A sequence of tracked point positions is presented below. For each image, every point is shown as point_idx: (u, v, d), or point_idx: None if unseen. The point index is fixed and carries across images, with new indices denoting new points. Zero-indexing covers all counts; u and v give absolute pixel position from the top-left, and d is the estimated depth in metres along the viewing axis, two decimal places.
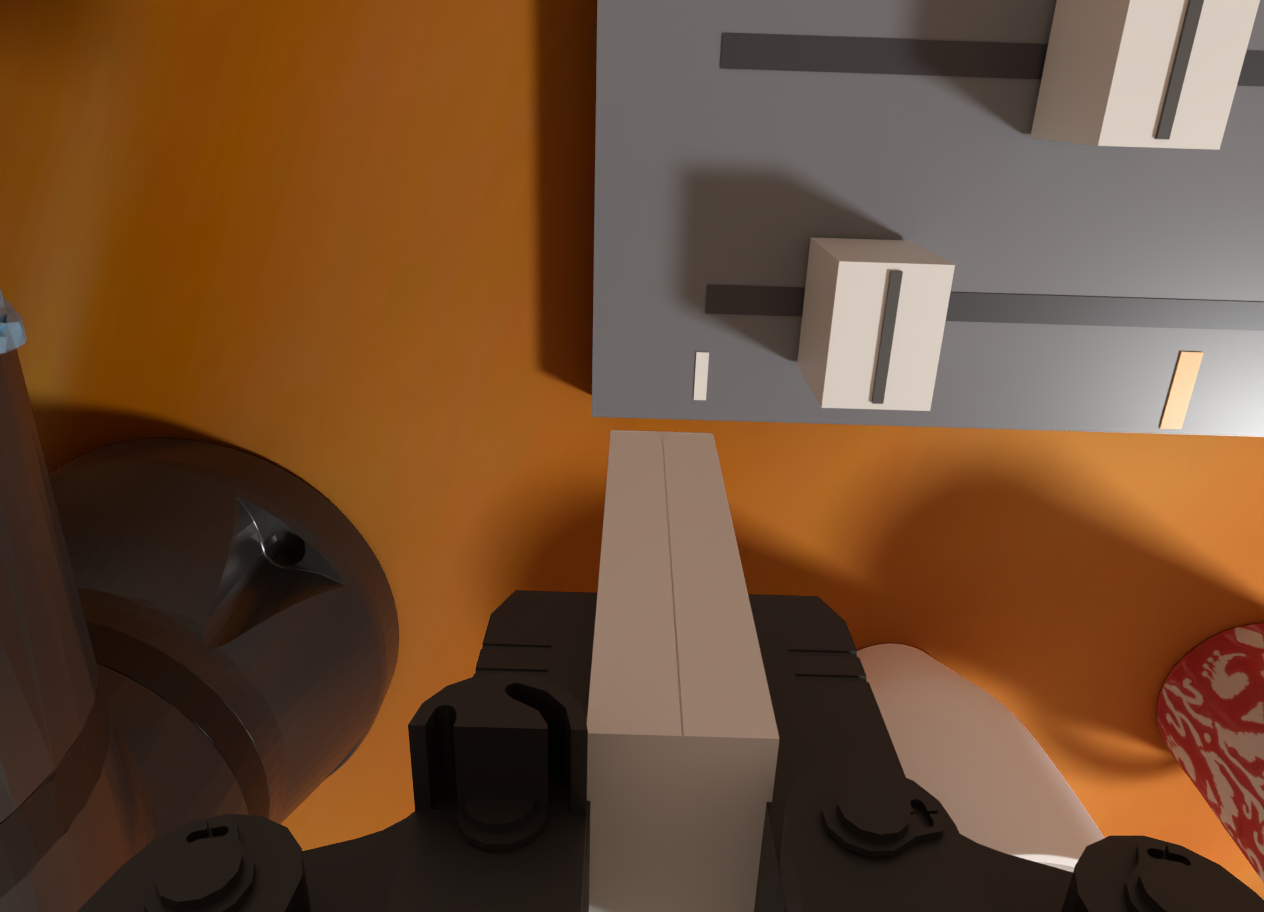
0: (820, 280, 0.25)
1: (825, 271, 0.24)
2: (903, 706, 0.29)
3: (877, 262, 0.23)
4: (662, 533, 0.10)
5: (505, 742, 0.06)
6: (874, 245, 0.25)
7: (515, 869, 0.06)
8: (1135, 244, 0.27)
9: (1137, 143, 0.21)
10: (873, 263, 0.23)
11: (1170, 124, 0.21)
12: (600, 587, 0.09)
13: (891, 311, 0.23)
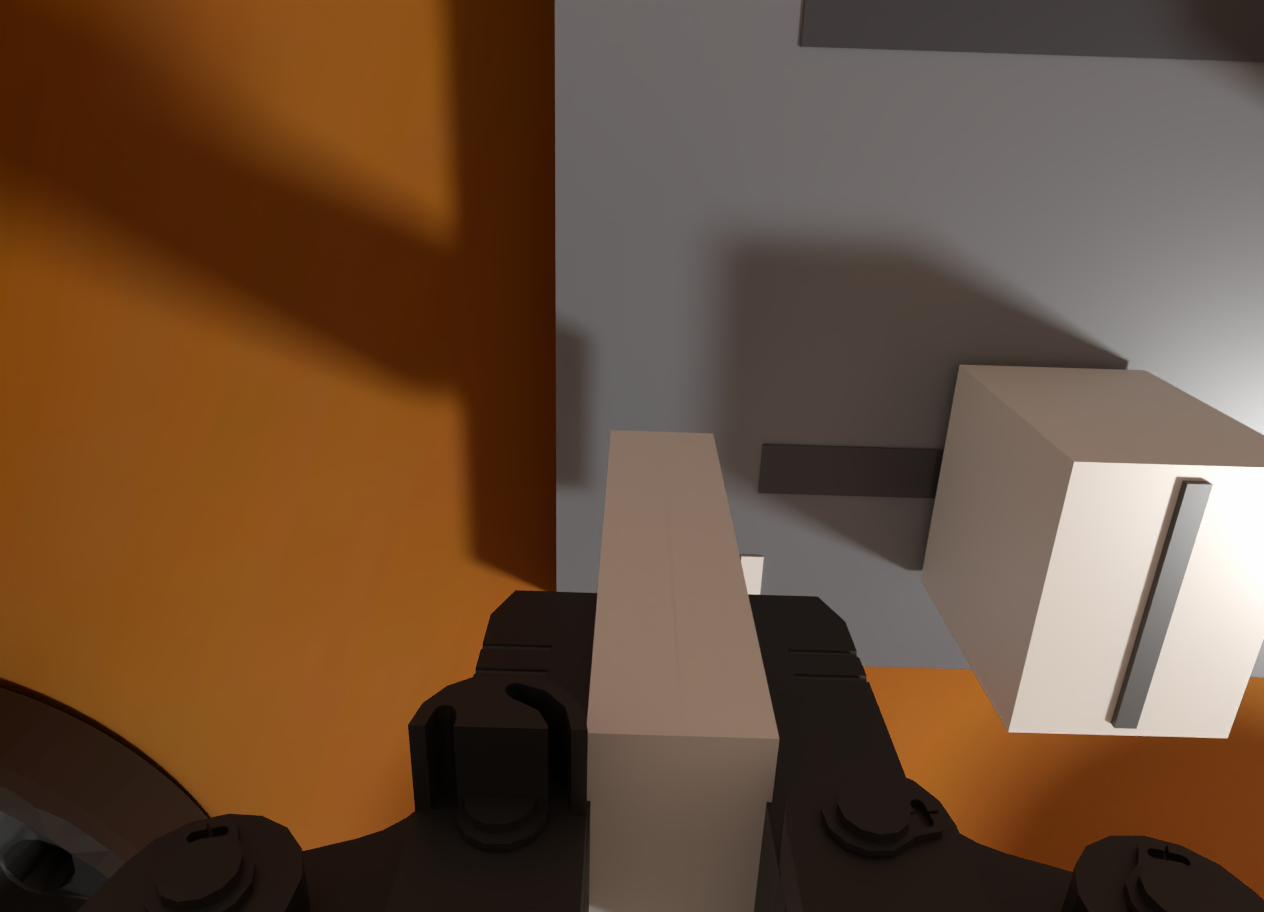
0: (997, 465, 0.13)
1: (1016, 456, 0.12)
2: None
3: (1155, 462, 0.10)
4: (662, 533, 0.10)
5: (506, 743, 0.06)
6: (1095, 390, 0.13)
7: (516, 870, 0.06)
8: None
9: None
10: (1148, 465, 0.10)
11: None
12: (600, 587, 0.09)
13: (1178, 562, 0.11)
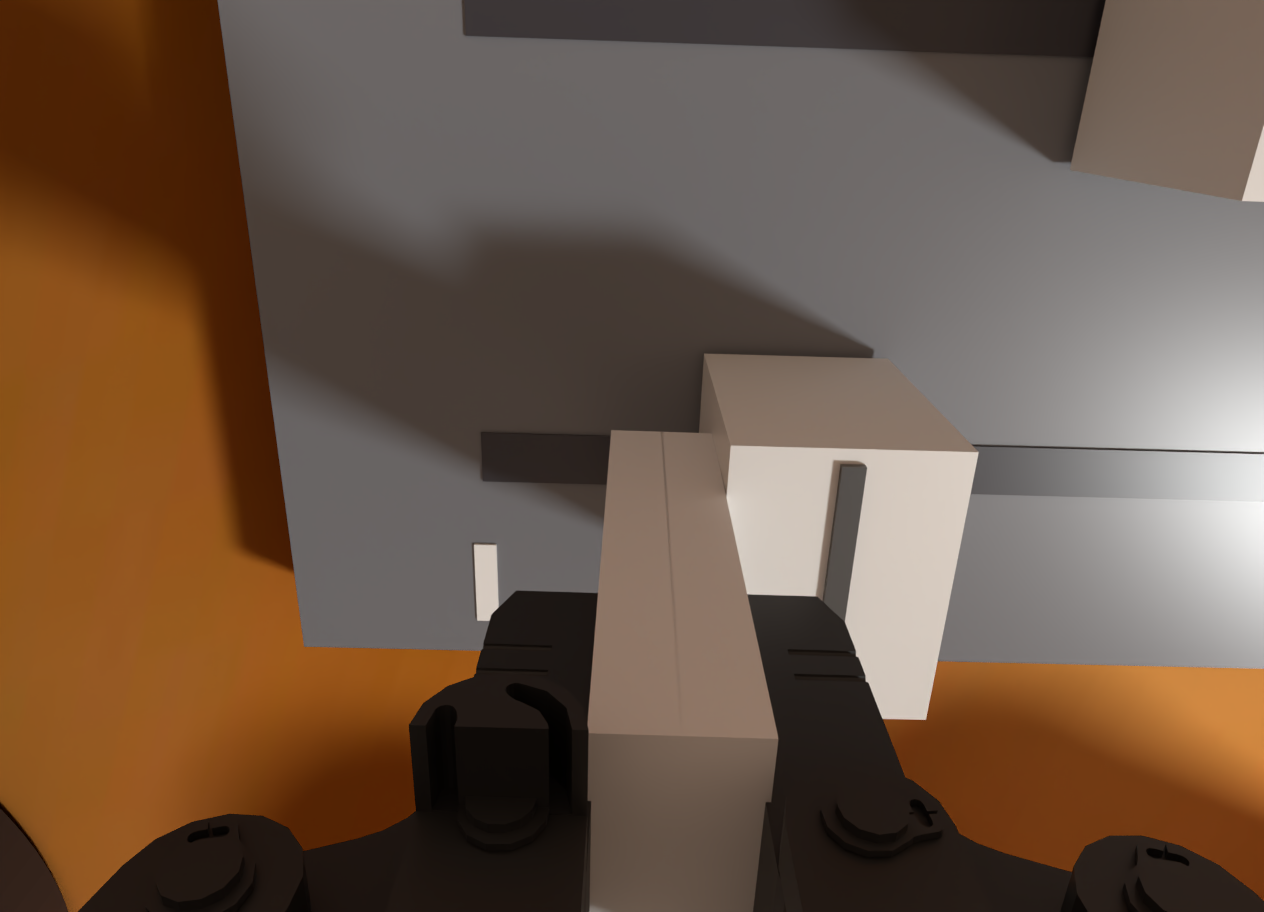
0: None
1: (716, 442, 0.12)
2: None
3: (813, 446, 0.11)
4: (661, 533, 0.10)
5: (506, 742, 0.06)
6: (818, 377, 0.13)
7: (516, 869, 0.06)
8: (1257, 362, 0.15)
9: None
10: (804, 449, 0.11)
11: None
12: (601, 587, 0.09)
13: (845, 544, 0.11)
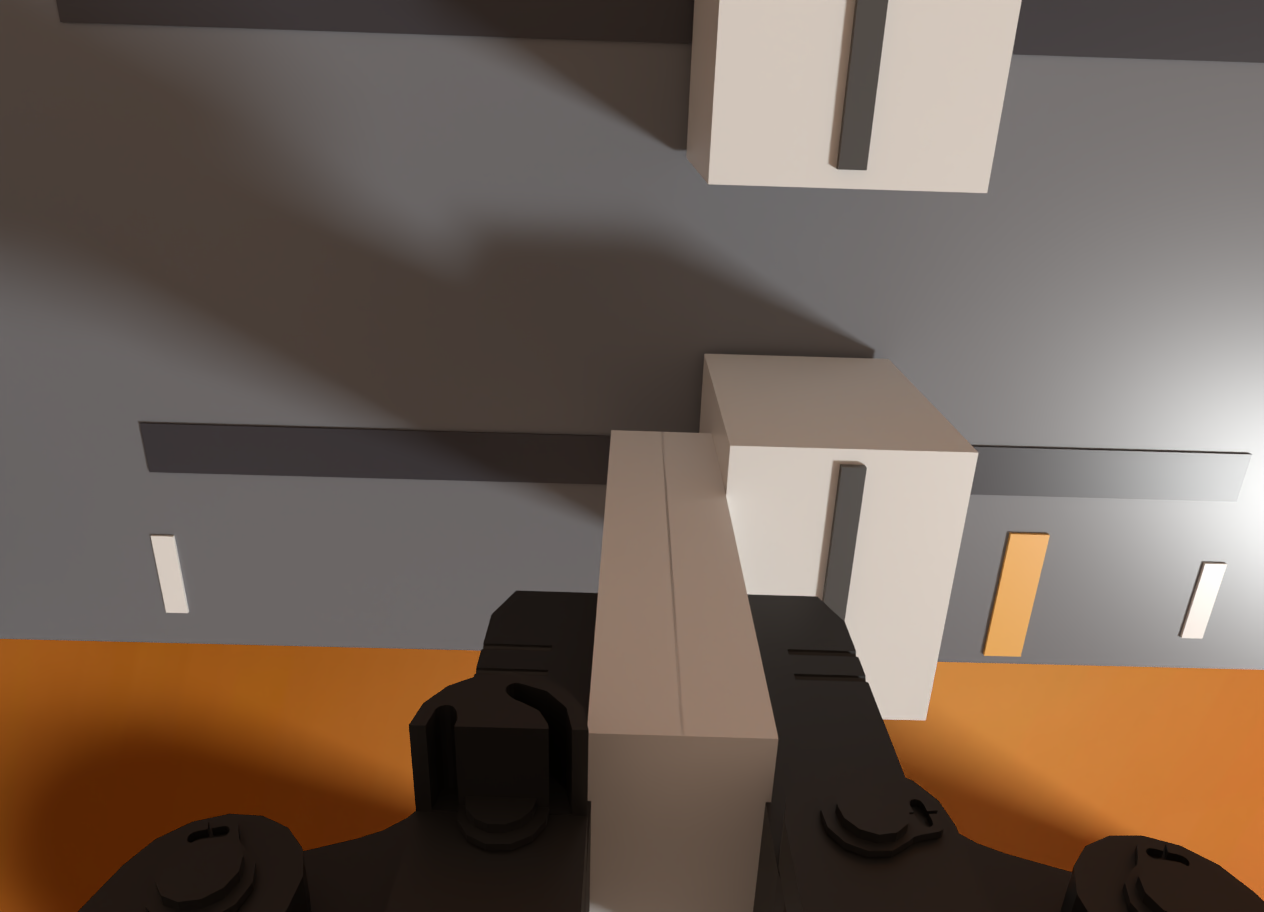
0: None
1: (716, 442, 0.12)
2: None
3: (812, 446, 0.11)
4: (661, 533, 0.10)
5: (506, 742, 0.06)
6: (818, 378, 0.13)
7: (516, 869, 0.06)
8: (911, 352, 0.14)
9: (797, 179, 0.09)
10: (804, 449, 0.11)
11: (864, 136, 0.09)
12: (601, 587, 0.09)
13: (844, 544, 0.11)
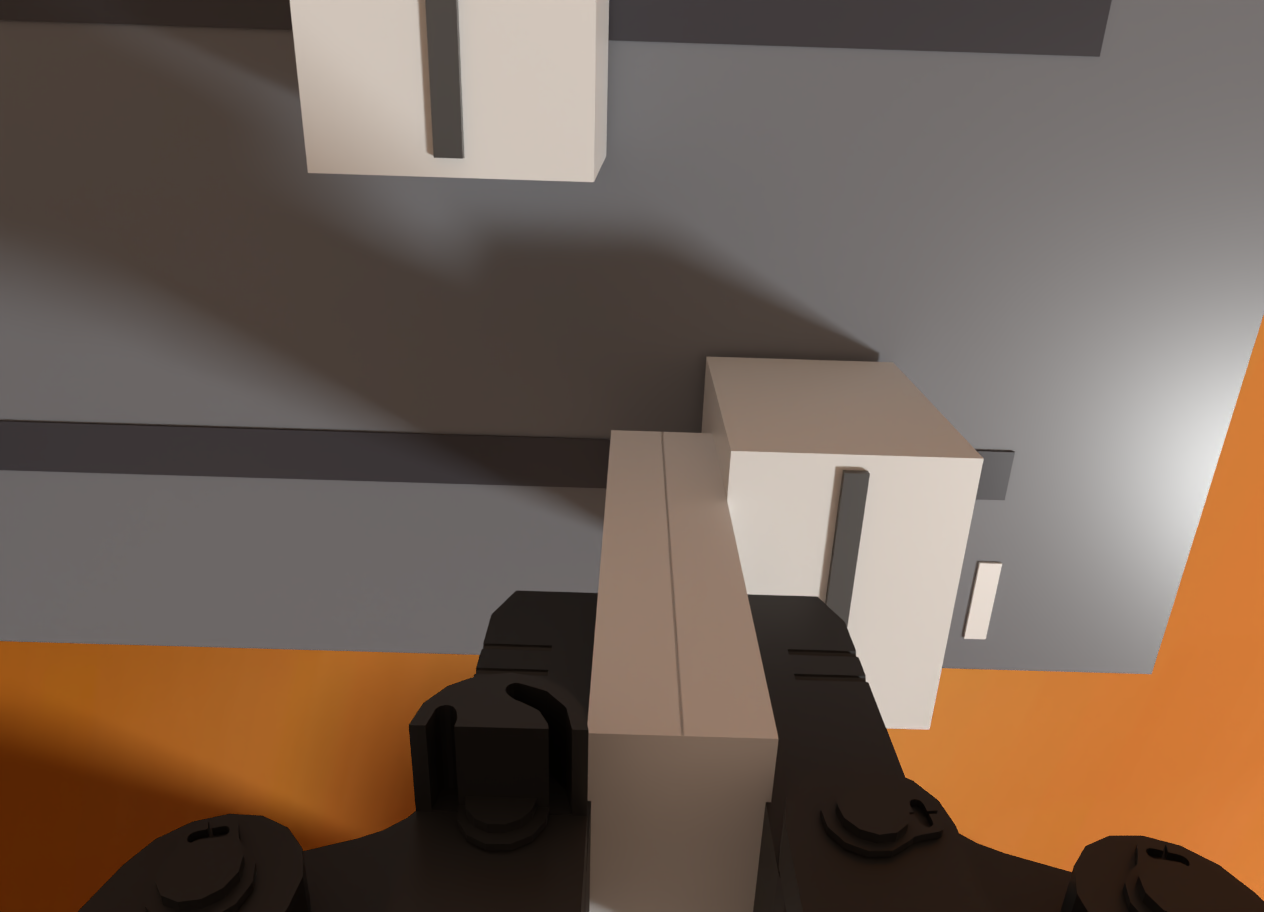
0: None
1: (717, 446, 0.12)
2: None
3: (815, 452, 0.10)
4: (661, 533, 0.10)
5: (506, 742, 0.06)
6: (822, 381, 0.13)
7: (516, 869, 0.06)
8: (658, 347, 0.14)
9: (397, 167, 0.09)
10: (806, 455, 0.10)
11: (454, 123, 0.09)
12: (601, 587, 0.09)
13: (847, 551, 0.11)
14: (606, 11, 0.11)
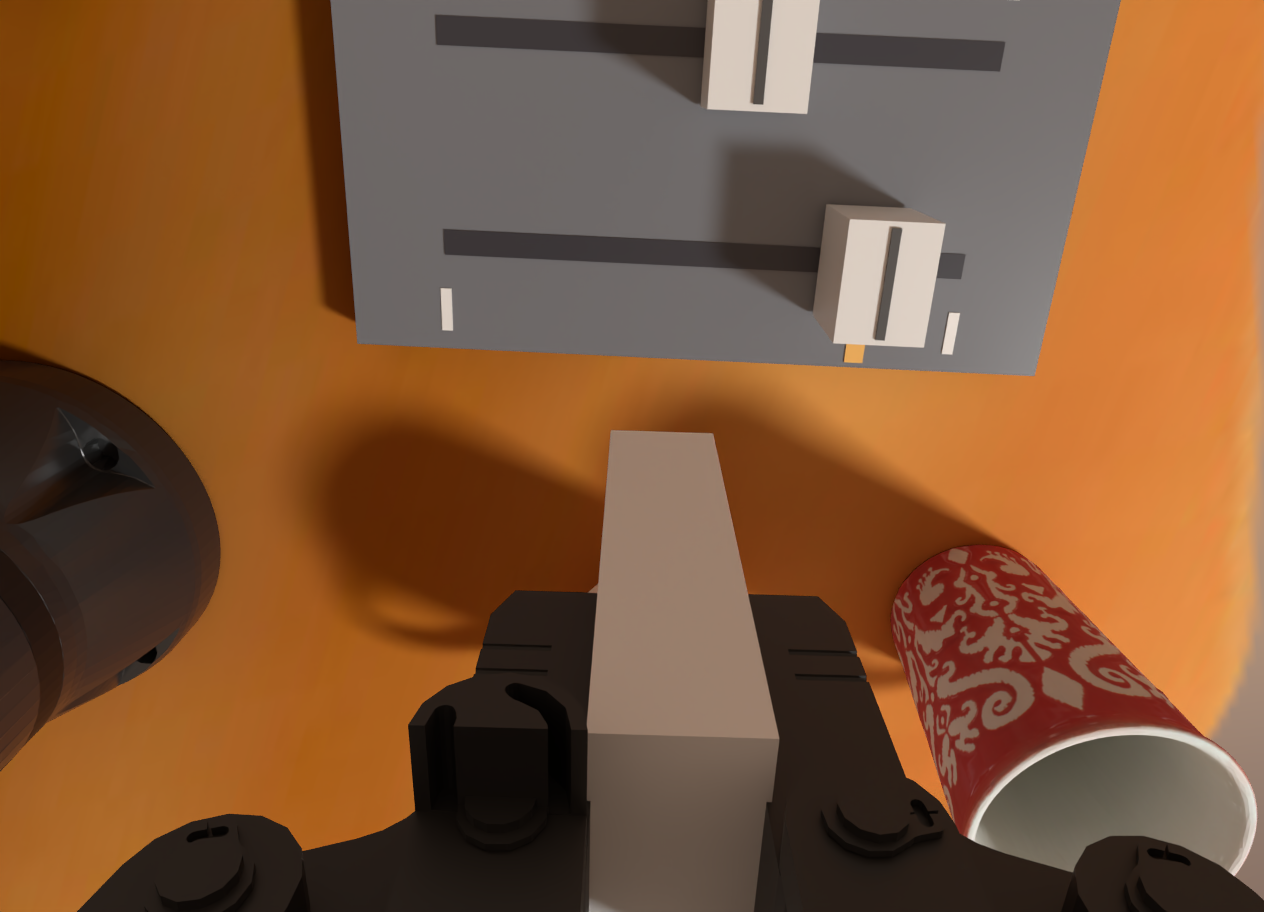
0: (834, 238, 0.30)
1: (838, 230, 0.29)
2: None
3: (881, 220, 0.28)
4: (662, 533, 0.10)
5: (506, 743, 0.06)
6: (880, 210, 0.30)
7: (516, 870, 0.06)
8: (802, 200, 0.31)
9: (739, 107, 0.26)
10: (878, 221, 0.28)
11: (762, 92, 0.26)
12: (600, 587, 0.09)
13: (893, 262, 0.28)
14: None
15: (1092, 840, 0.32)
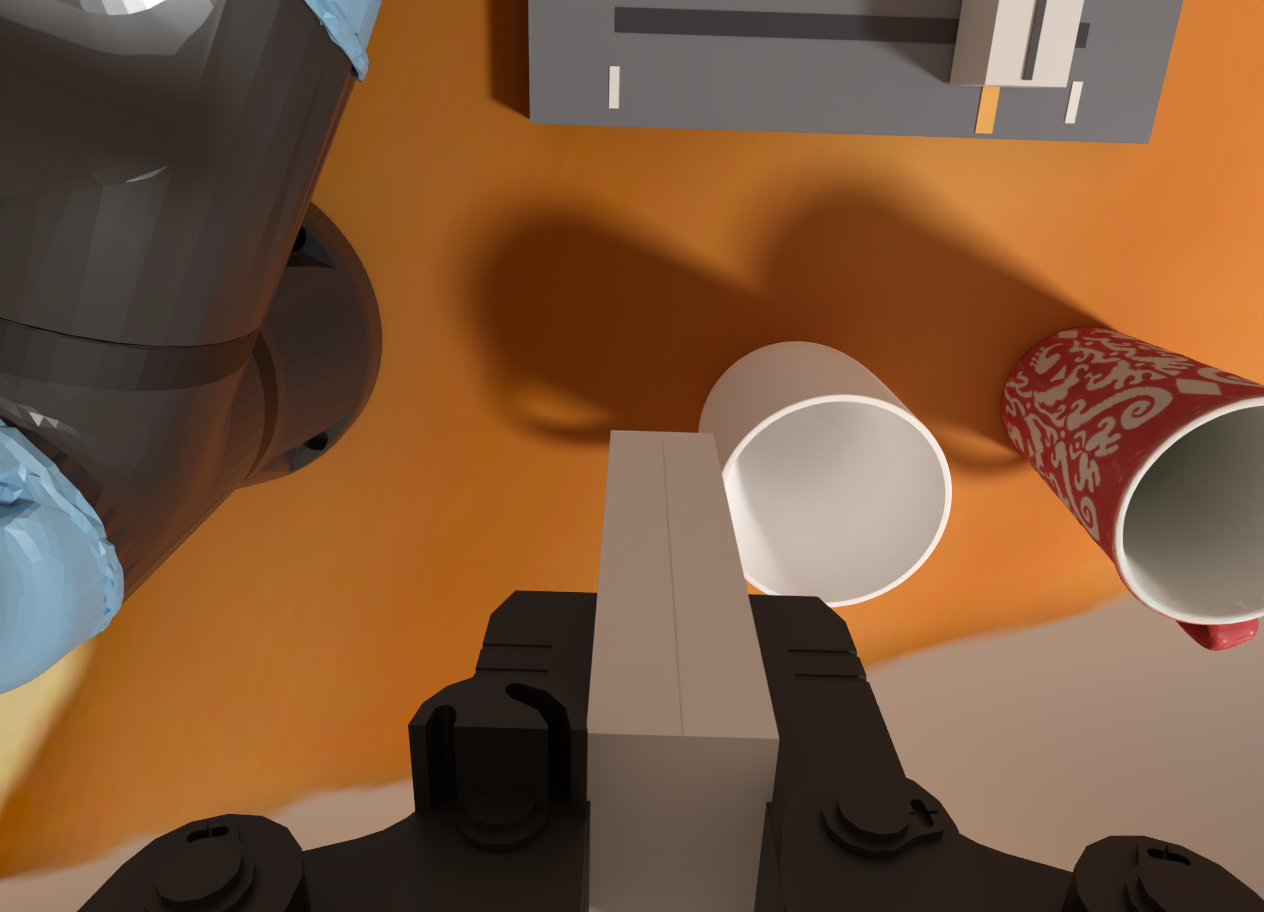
0: None
1: None
2: (773, 351, 0.37)
3: None
4: (662, 533, 0.10)
5: (506, 742, 0.06)
6: None
7: (515, 869, 0.06)
8: None
9: None
10: None
11: None
12: (600, 587, 0.09)
13: (1042, 1, 0.31)
14: None
15: (1214, 552, 0.35)
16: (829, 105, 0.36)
